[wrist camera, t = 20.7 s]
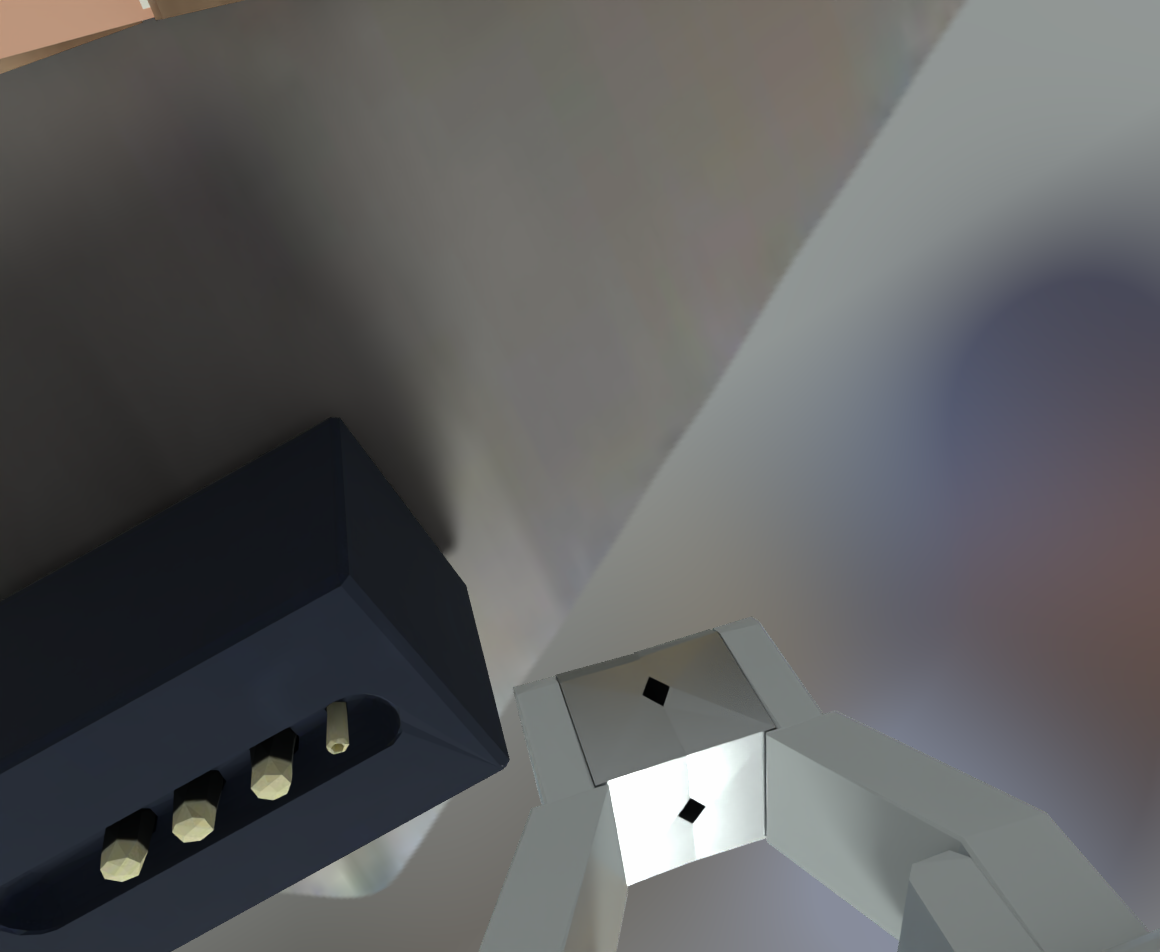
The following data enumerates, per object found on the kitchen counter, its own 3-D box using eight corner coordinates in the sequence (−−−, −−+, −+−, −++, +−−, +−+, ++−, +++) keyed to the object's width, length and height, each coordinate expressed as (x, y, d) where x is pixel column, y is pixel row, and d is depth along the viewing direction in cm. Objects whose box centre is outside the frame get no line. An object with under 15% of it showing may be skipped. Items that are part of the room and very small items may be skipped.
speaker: (135, 753, 47) (72, 1028, 35) (-52, 613, 40) (-215, 897, 28) (464, 571, 47) (518, 783, 35) (335, 397, 40) (345, 587, 28)
